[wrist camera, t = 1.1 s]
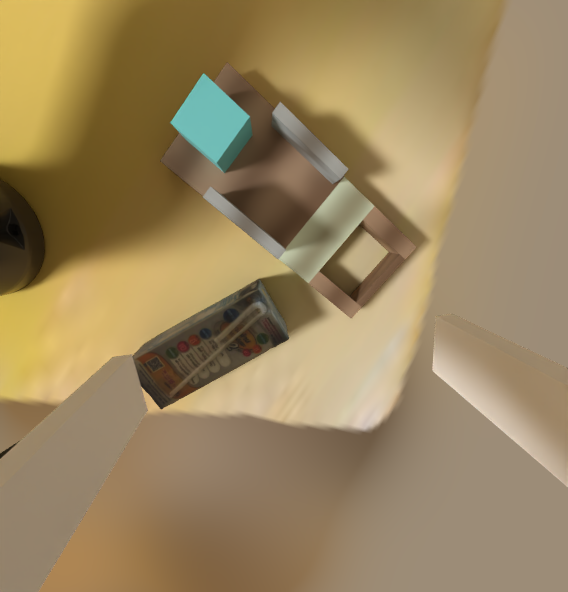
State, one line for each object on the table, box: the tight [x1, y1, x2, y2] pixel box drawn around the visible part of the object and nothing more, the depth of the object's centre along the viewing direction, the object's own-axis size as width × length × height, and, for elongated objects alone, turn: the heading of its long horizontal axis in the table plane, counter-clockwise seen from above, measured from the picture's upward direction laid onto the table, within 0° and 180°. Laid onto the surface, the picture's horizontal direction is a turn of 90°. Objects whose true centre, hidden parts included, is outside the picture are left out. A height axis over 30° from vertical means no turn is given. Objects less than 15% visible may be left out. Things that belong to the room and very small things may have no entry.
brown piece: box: [160, 63, 416, 318], centre depth 29 cm, size 29×12×9 cm, turn 50°
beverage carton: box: [132, 279, 289, 409], centre depth 34 cm, size 8×19×7 cm, turn 119°
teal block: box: [170, 73, 253, 173], centre depth 26 cm, size 5×5×5 cm
